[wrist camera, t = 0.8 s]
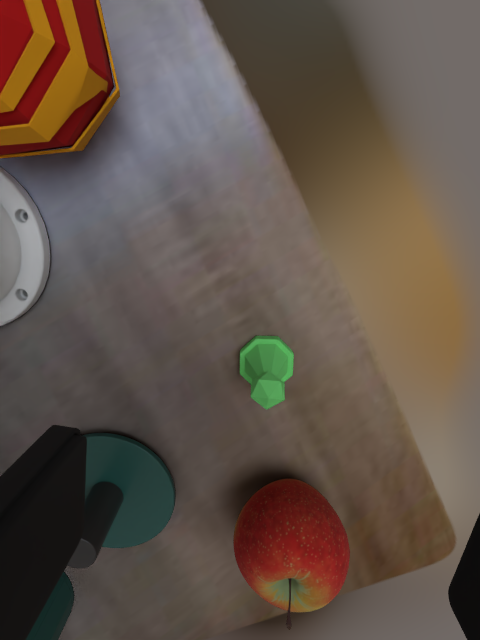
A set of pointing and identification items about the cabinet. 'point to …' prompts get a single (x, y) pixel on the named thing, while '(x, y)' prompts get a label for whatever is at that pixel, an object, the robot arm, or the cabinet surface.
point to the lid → (122, 496)
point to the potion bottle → (53, 75)
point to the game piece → (266, 368)
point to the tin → (54, 612)
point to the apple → (291, 546)
